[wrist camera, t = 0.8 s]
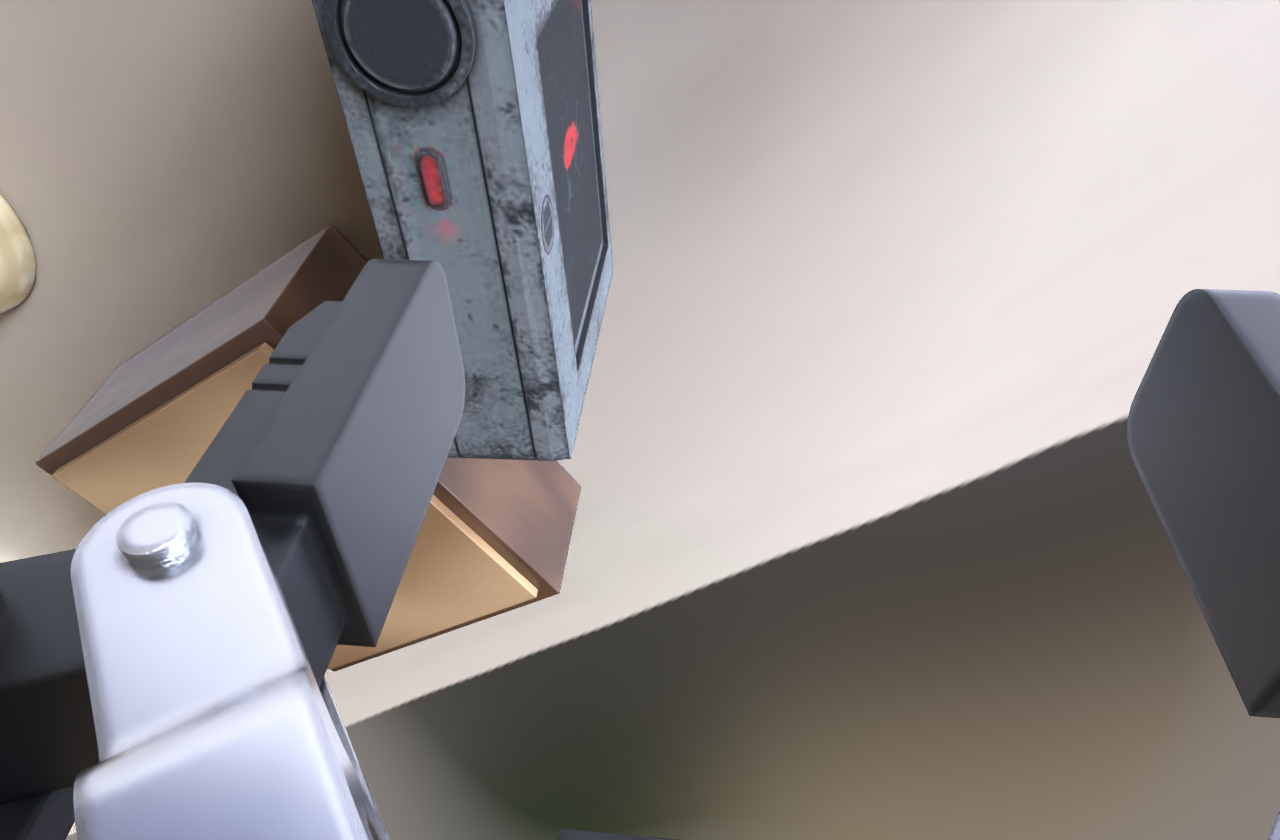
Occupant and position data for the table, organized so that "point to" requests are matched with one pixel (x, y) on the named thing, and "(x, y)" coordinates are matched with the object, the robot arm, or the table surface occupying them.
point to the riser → (224, 370)
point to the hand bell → (14, 259)
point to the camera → (488, 192)
